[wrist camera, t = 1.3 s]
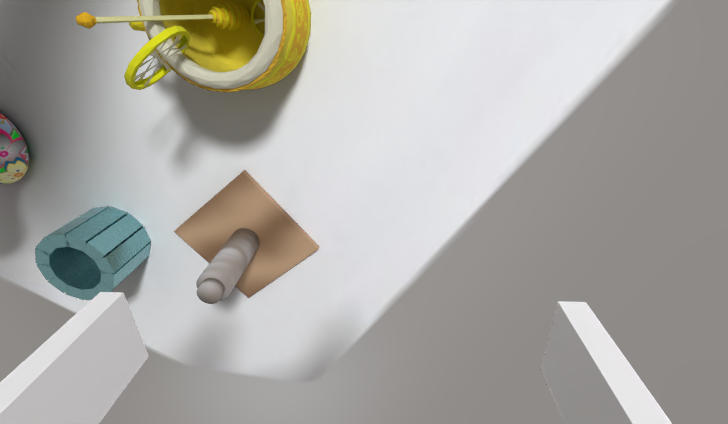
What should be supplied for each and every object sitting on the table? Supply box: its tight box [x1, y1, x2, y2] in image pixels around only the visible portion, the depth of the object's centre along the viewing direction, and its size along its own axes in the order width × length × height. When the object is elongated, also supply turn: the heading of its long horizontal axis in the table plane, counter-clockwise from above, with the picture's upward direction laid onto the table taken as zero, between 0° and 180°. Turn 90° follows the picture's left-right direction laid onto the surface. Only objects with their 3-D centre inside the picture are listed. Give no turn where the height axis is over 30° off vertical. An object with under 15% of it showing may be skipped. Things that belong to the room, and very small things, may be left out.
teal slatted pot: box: [35, 206, 151, 300], centre depth 38 cm, size 8×8×6 cm
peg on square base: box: [174, 170, 319, 304], centre depth 36 cm, size 11×11×10 cm
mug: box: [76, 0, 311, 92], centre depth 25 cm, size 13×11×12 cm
